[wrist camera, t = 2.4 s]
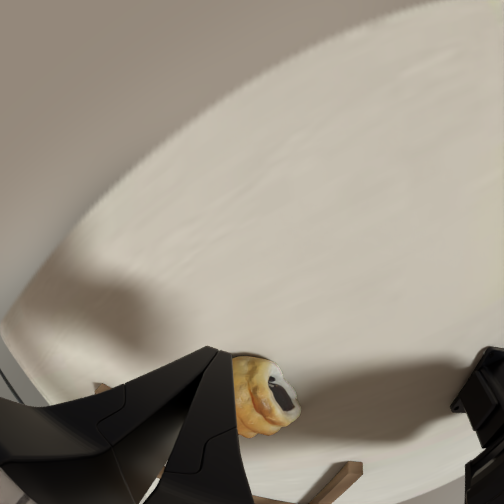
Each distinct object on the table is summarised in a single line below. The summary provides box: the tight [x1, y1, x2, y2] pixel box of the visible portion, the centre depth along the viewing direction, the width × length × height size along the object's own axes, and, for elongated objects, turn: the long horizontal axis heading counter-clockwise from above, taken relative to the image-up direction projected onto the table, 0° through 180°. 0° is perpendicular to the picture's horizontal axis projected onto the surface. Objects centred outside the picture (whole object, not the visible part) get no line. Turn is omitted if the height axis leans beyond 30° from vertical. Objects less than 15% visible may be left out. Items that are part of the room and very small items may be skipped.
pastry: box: [232, 356, 301, 438], centre depth 19 cm, size 9×7×4 cm
